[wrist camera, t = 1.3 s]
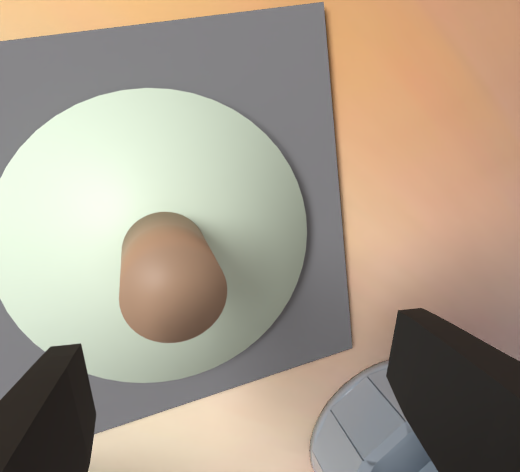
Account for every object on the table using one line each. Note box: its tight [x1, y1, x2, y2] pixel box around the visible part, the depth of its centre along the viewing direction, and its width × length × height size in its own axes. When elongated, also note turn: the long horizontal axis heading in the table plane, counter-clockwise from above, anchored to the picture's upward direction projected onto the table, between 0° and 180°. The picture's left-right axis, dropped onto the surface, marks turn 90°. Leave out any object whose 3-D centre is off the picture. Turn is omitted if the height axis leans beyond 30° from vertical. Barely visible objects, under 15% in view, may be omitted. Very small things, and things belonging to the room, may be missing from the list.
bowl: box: [309, 360, 438, 472], centre depth 23 cm, size 10×10×4 cm
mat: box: [0, 2, 352, 434], centre depth 17 cm, size 16×16×1 cm
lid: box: [0, 88, 307, 383], centre depth 14 cm, size 12×12×5 cm
